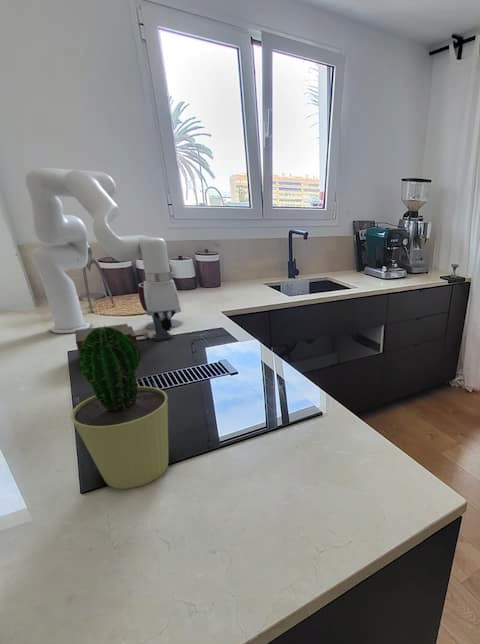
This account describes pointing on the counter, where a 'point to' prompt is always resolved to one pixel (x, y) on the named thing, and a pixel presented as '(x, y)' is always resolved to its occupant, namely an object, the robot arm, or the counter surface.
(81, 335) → the cabinet
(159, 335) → the bottle opener
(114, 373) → the potted cactus
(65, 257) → the robot arm
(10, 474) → the counter surface
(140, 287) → the mate gourd
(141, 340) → the drawer
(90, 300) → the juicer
